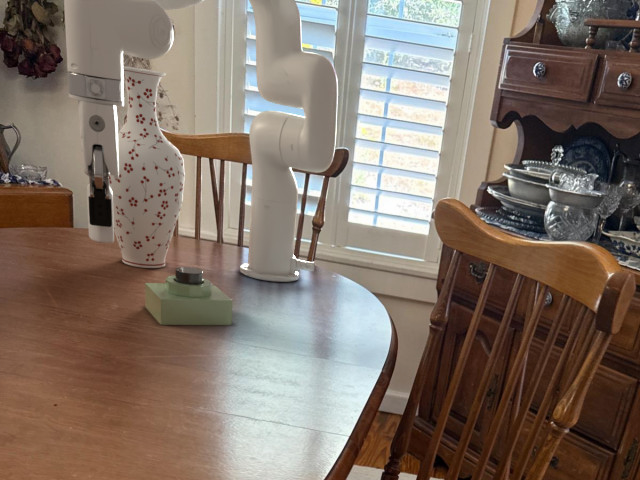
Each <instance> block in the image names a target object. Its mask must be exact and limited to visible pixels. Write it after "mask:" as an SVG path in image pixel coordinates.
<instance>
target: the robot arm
mask: <svg viewBox="0 0 640 480" xmlns="http://www.w3.org/2000/svg"><path fill="white" fill-rule="evenodd" d="M204 1H205V0H63V9H64V10H63V11H64V29H65V43H66V44H65V45H66V46H65V47H66V67H67V86H68V87H67V88H68V98H69V99H71V100H75V101H77V105H78V107H77V108H78V125H79V126H78V127H79V140H80V149H81V158H82V165H83V171H84V172H83V173H84V174H85V175H86V176H87V177H88V178H89V180H88V181H89V183H90V196H89V220H90V224H91V225H95V226H105V227H111V226H112V208H111V199H109V173H110V175H113V176H114V179H117V178H119V152H118V151H119V147H118V132H119V125H118V124H119V121H118V111H117V107H125V97H124V96H125V95H124V94H125V93H124V91H125V90H124V76H123V66H124V55H125V56H129V57H134V58H139V59H143V60H144V59H145V60H155V59H159V58H161V57H163V56H165V55H166V54H167V53H168V52H169V51H170V50H171V47H172V46H173V42H174V26H173V22H172V20H171V18H170V16H169V15H168V13H167V12H166V11H171V10H172V11H173V10H180V9H185V8H189V7H193V6H197V5H199V4H201V3H203V2H204ZM248 2H249V3H250V6H251V9H252V12H253V16H254V24H255V69H256V70H255V71H256V72H255V74H256V75H255V76H256V85H257V91H258V93H259V95H260V97H261V98H262V99H264V100H265V101H267V102H269V103H272V104H275V105H281V106H285V107H288V108H289V107H290V108H295V109H301V110H303V114H304V115H298V114H295V113H290V112H284V111H280V110H279V111H278V110H265V111H262V112H260V113H258V114H256V116H254V117H253V119H252V121H251V123H250V127H249V137H248V138H249V147H250V155H251V156H250V157H251V166H252V167H251V169H252V172H251V173H252V178H251V197H250V199H251V200H250V215H249V216H250V218H249V236H248V237H249V238H248V253H247V255H248V257H247V262H246V263H242V264H241V265H240V266H239V267H240V268H239V271H240V273H241V274H243V275H245V276H247V277H249V278H253V279H256V280H260V281H261V280H262V281H268V282H277V283H278V282H279V283H288V282H295V281H297V280H299V277H300V273H299V272H300V271H307V272H314V271H315V261H307V260H305V259H299V258H297V257H296V256H295V255H294V250H295V240H296V239H295V237H296V226H297V214H298V204H299V203H298V202H299V201H298V200H299V187H298V183H297V180H296V177H295V174H294V172H293V169H296V170H300V171H305V172H309V173H317V174H318V173H319V174H320V173H323V172H326V171H327V170H328V169H329V168H330V166H331V165H332V164H333V161H334V157H335V152H336V142H337V123H338V121H337V120H338V99H339V98H338V96H339V84H338V77H337V72H336V69H335V66H334V64H333V63H332V61H331V60H330V59H329V58H328V57H326V56H325V55H322V54H320V53H317V52H316V53H315V52H310V51H304V50H303V46H302V45H303V44H302V19H301V13H300V10H299V7H298V4H297V2H296V0H248ZM92 171H93V172H94V174H92ZM103 173H104V174H105V173H106V176H103ZM105 189H106V194H105Z"/></svg>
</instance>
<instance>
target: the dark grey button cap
mask: <svg viewBox="0 0 640 480" xmlns="http://www.w3.org/2000/svg"><path fill="white" fill-rule="evenodd" d="M174 271H175V273H174V274H175V281H176V282H179V283H183V284H189V285H199V284H202V278H204V277H203V275H204V273H203V272H204V271H203V270H202V269H199V268H195V267H190V266H178V267H176V268H175V270H174Z"/></svg>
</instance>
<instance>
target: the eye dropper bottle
mask: <svg viewBox="0 0 640 480" xmlns="http://www.w3.org/2000/svg"><path fill="white" fill-rule="evenodd" d="M92 174H94V172H93V171H92ZM103 176H106V173H105V174H104V173H103ZM105 194H106V189H105ZM89 196H90V182H89V183H88V184H87V186H86V203H87V225H88V237H89V239H91V240H92V241H93V242H96V243H99V244H113V243H114V242H115V232H114V216H113V193H112V190H111V188H110V186H109V199H111V208H112V226H111V227H105V226H95V225H91V224H90V220H89Z"/></svg>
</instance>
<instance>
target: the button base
mask: <svg viewBox="0 0 640 480" xmlns="http://www.w3.org/2000/svg"><path fill="white" fill-rule="evenodd" d="M144 302H145V303H144V304H145V305H144V306H145V309H146V310H147V311H148V312H149V313H150V314H151V316H152V317H153V318H154V319H155V320H156V321H157V322H158V323H159V325H160V326H167V325H168V326H177V325H178V326H232V324H233V306H234V305H233V303H234V300H233V299H232V298H231V297H230V296H228V295H227V294H225V292H223V291H222V290H221V289H220V288H219V287H218V286H216V285H215V284H213V282H212V281H211V280H209V279H207V278H204V277H203V278H202V284H199V285H189V284H183V283H179V282H176V281H175V275H174V274H173V275H169V276H167V277H166V278H165V283H164V282H163V283H162V282H145V283H144Z"/></svg>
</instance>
